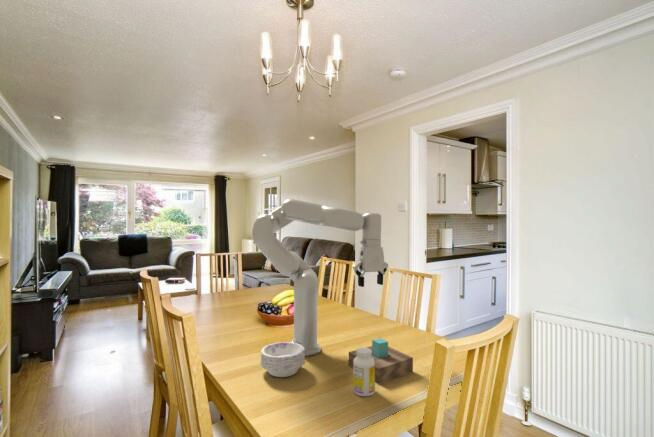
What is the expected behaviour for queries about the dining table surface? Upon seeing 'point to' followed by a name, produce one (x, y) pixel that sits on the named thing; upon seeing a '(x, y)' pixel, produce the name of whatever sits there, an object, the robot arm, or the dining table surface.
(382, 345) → the peg
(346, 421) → the dining table surface
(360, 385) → the supplement bottle
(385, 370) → the socket block
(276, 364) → the paper bowls
